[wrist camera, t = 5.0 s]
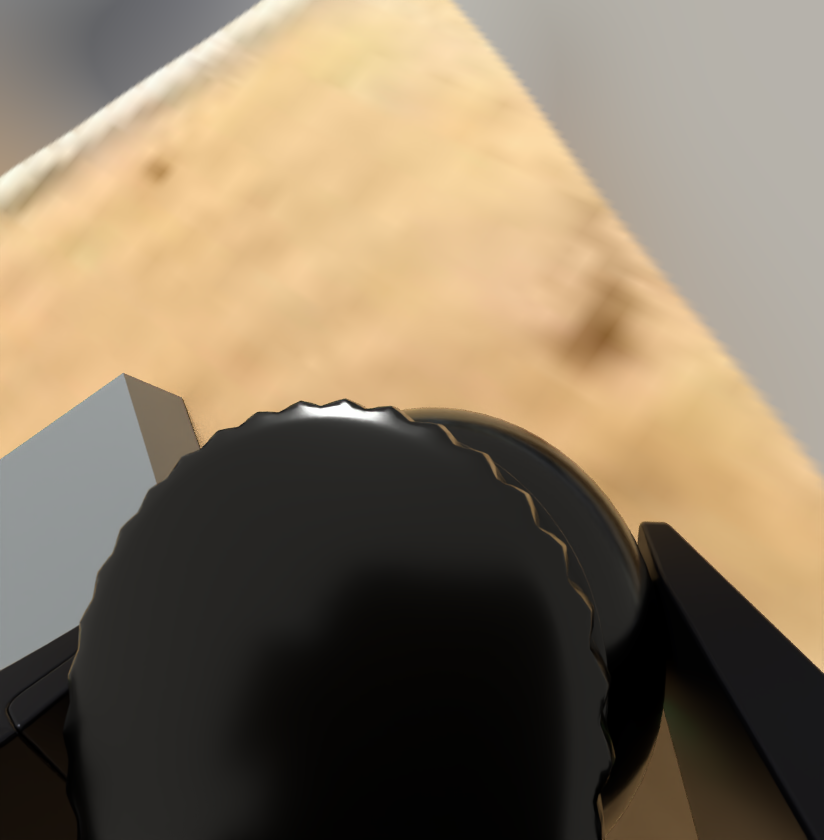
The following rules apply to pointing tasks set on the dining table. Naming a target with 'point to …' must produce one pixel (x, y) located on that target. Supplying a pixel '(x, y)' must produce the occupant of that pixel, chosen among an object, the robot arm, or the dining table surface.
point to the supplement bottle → (366, 640)
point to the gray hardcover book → (78, 504)
